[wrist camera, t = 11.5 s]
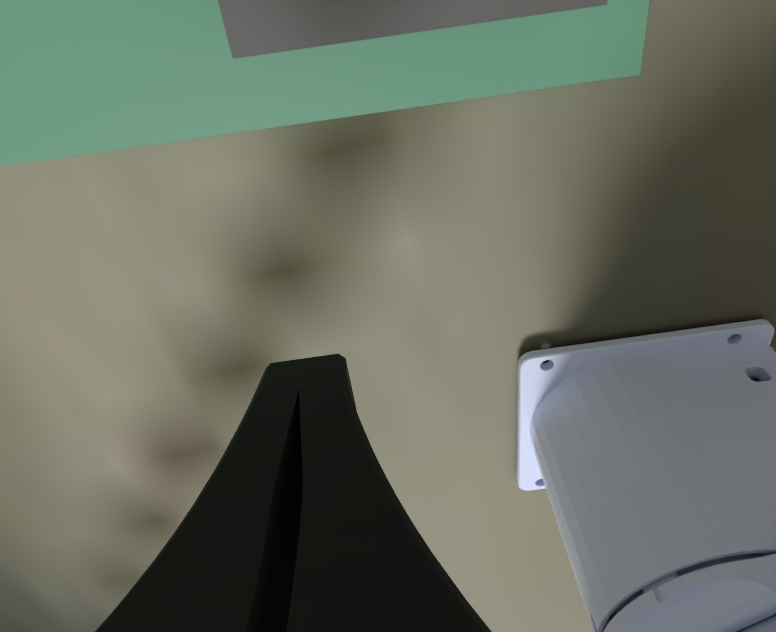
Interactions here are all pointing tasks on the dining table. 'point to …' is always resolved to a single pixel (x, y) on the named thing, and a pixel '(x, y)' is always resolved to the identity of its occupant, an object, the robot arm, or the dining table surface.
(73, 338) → the dining table surface
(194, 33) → the board
